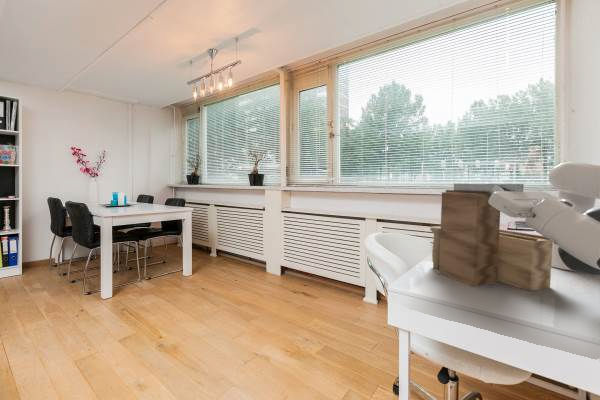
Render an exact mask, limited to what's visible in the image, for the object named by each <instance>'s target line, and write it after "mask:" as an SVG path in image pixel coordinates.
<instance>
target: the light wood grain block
mask: <svg viewBox="0 0 600 400" xmlns="http://www.w3.org/2000/svg"><path fill="white" fill-rule="evenodd" d="M552 245H553V240H551V239H548V238H546V237H544V236H542V235H541V234H532V233H525V232H519V231H513V230H507V229H500V228H499V248H498V268H497V282H501V283H505V284H508V285H510V286H512V287H515V288H516V287H517V288H520V289H521V290H525V291H529V292H532V291H537V290H541V289H547V288H548V289H549V288H551V275H552V274H551V273H552V266H551V262H552Z"/></svg>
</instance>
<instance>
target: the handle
mask: <svg viewBox="0 0 600 400" xmlns="http://www.w3.org/2000/svg"><path fill="white" fill-rule="evenodd" d="M430 232H431V233H432V234H433V239H432V240H433V242H432V251H431V252H432V256H431V257H432V267H433V268H434V269H438V270H439V261H440V234H441V225H439V226H438V225H436V226H435V225H433V226H430Z"/></svg>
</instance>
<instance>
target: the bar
mask: <svg viewBox="0 0 600 400" xmlns="http://www.w3.org/2000/svg"><path fill="white" fill-rule="evenodd" d="M524 185H525V184H524V183H455V182H454V183H453V190H465V191H483V194H493V192H494V191H493V190H492V189H493V187H494V186H501V187H503V190H504V191H507V192H509V191H515V192H523V191H524Z"/></svg>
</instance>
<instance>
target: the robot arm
mask: <svg viewBox="0 0 600 400" xmlns="http://www.w3.org/2000/svg"><path fill="white" fill-rule="evenodd" d="M548 181H549V183H550V185H551V186H552V187H553V188H554V189H556V190H557V193H556V196H554V195H552V194H550V193H548V192H545V191H541V190H536V191H534V190H532V191H531V190H529V191H525V190H523V192H515V191H509V192H507V191H504V190H503V187H501V186H494V187H493V189H492V190H493V191H494V192H493V194H492V195H491V197H490V198H489V200H488V203H489V204H490V205H491V206H492V207H494V208H496V209H497V210H499V211H500V213H502V214H504V215H506V216H508V217H511V218H517V219H518V218H521V219H525V220H524V222H525V225H526V226H528V227H529V228H531V229H532V230H534V231H535V232H537V233H538V235H540V236H544V237H546V238H548V239H551V240H553V245H552V262H551V268H557V269H561V270H567V271H573V272H574V273H577V274H580V275H586V276H600V205H598V206H595V204H596V200H600V165H598V164H597V165H596V164H591V163H586V162H580V161H565V162H561V163H559V164H558V165H555V166H554V167H552V168H551V170H550V172H549V173H548Z"/></svg>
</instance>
